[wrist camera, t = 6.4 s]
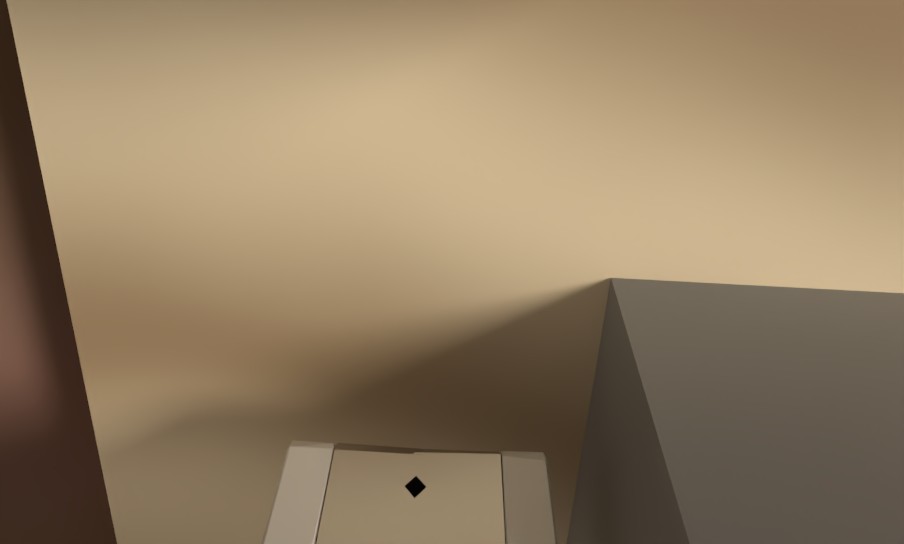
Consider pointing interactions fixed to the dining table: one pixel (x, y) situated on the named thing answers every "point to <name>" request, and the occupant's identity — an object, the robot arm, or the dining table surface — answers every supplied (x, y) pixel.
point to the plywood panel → (426, 212)
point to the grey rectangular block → (744, 417)
